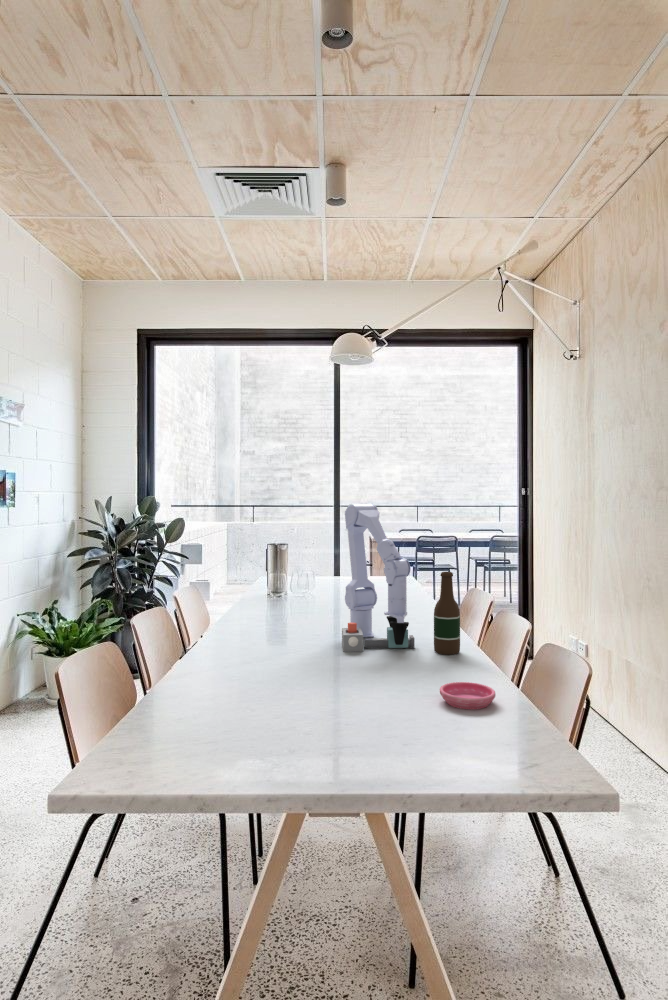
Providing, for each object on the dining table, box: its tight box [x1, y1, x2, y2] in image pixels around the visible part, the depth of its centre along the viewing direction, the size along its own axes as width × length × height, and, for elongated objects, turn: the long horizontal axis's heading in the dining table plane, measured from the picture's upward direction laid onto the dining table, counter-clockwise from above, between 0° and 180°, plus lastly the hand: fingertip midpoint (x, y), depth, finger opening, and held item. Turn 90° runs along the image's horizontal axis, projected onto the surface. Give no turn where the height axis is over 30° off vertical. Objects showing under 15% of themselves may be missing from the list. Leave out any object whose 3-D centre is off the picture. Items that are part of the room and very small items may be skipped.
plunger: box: [347, 622, 357, 633], centre depth 197 cm, size 3×3×4 cm
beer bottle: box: [433, 571, 461, 656], centre depth 191 cm, size 8×8×24 cm
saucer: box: [439, 681, 496, 710], centre depth 145 cm, size 12×12×3 cm
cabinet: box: [341, 627, 364, 653], centre depth 197 cm, size 10×6×5 cm, turn 2°
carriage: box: [386, 626, 409, 649], centre depth 198 cm, size 4×6×5 cm
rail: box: [364, 634, 415, 649], centre depth 198 cm, size 4×15×3 cm, turn 92°
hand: (397, 641), depth 198 cm, fingers open, 7 cm apart
